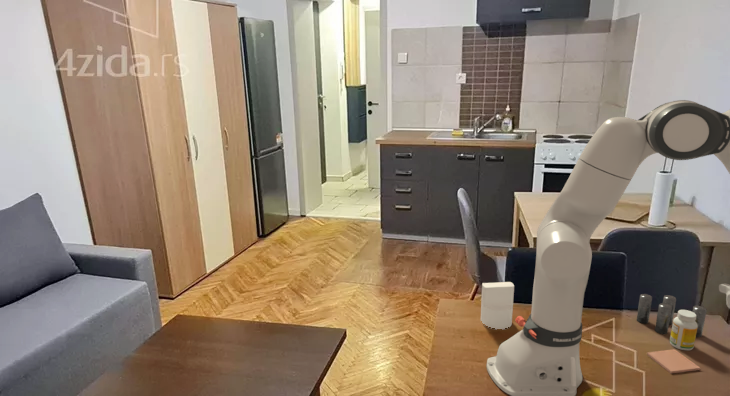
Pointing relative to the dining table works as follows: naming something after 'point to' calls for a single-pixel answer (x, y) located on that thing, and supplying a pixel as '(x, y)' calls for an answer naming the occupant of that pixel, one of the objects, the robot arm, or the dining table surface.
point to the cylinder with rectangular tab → (497, 304)
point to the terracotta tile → (673, 361)
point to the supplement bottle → (684, 330)
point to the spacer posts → (667, 313)
